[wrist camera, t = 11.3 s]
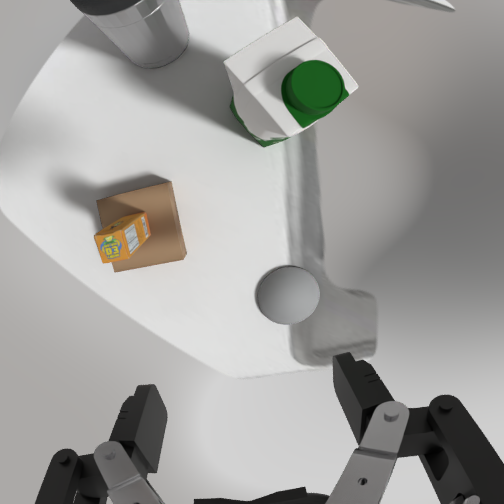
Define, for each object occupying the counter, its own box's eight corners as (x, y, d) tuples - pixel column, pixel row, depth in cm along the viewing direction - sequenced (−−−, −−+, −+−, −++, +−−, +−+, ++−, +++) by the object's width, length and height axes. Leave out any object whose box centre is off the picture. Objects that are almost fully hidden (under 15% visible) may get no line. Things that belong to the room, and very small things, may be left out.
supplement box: (129, 241, 38) (100, 265, 28) (123, 216, 37) (91, 232, 27) (153, 237, 38) (128, 259, 28) (147, 210, 37) (120, 225, 27)
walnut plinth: (105, 198, 39) (96, 200, 36) (171, 181, 39) (166, 182, 36) (121, 265, 41) (114, 272, 38) (186, 253, 42) (183, 259, 39)
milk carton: (262, 157, 39) (292, 145, 20) (219, 105, 37) (208, 50, 17) (313, 119, 38) (380, 82, 19) (270, 68, 36) (303, -5, 16)
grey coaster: (253, 272, 43) (253, 274, 42) (315, 261, 43) (316, 262, 43) (263, 328, 45) (263, 329, 45) (320, 316, 46) (321, 317, 45)
